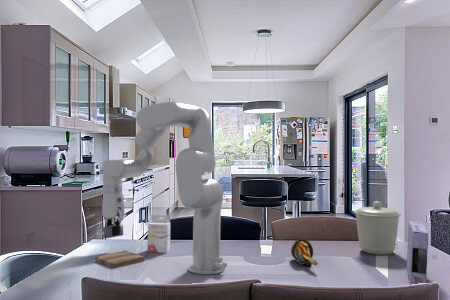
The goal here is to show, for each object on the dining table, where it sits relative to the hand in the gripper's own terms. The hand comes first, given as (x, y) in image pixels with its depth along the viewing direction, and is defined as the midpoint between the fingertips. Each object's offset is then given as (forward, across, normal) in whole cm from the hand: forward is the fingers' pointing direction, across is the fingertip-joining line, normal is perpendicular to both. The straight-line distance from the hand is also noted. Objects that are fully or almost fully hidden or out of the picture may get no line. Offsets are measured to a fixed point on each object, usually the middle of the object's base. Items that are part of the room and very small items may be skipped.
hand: (112, 234), depth 159 cm
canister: (+9, -78, -76) cm, 109 cm away
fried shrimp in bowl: (+9, -66, -39) cm, 77 cm away
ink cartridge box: (+8, -12, -14) cm, 20 cm away
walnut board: (+7, -13, +5) cm, 16 cm away
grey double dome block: (+1, 0, 0) cm, 1 cm away
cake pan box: (+10, -102, -49) cm, 113 cm away
